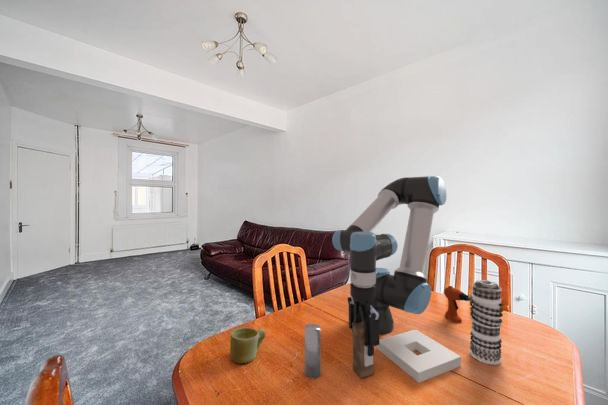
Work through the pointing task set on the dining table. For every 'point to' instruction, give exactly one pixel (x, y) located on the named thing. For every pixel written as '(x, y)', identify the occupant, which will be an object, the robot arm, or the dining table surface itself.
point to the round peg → (312, 350)
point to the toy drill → (454, 303)
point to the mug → (245, 344)
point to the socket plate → (423, 365)
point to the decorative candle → (486, 322)
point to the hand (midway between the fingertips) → (363, 359)
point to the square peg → (360, 352)
